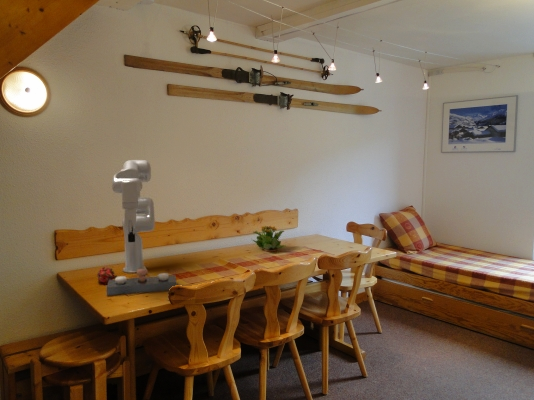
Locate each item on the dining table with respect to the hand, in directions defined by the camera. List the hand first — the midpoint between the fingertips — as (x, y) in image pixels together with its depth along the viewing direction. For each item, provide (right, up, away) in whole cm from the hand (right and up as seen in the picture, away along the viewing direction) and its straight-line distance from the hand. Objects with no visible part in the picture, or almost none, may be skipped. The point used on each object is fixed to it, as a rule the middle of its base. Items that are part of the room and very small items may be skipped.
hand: (131, 241), depth 204 cm
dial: (+6, -20, -1) cm, 21 cm away
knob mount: (+6, -23, -1) cm, 24 cm away
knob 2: (+15, -23, +2) cm, 28 cm away
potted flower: (+70, -15, +81) cm, 108 cm away
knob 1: (-4, -23, -4) cm, 24 cm away
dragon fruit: (-16, -22, +9) cm, 29 cm away
